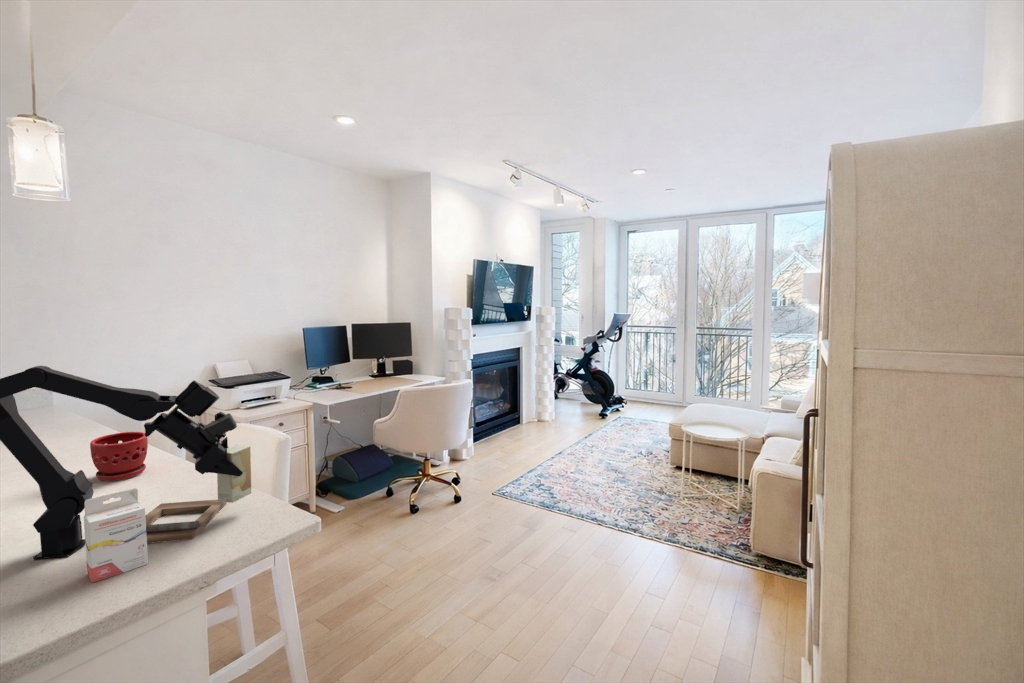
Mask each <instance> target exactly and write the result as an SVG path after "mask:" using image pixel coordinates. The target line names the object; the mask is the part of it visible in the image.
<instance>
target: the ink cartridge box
mask: <svg viewBox="0 0 1024 683" xmlns="http://www.w3.org/2000/svg"><path fill="white" fill-rule="evenodd" d="M138 492H139V491H138V488H131V489H130V488H129V489H127V490H122V491H117V492H114V493H113V492H112V493H108V494H105V495H100V496H95V497H92V498H91V499H87V500H85V502H84V506H85V508H84V516H83V525H84V539H85V545H84V546H85V558H86V559H85V560H86V562H85V563H86V574H87V575H88V578H89V579H90V581H91V583H96V582H98V581H99V582H100V581H103V580H105V579H108V578H111V577H114V576H116V575H119V574H120V575H121V574H122V573H126V572H128V571H129V572H130V571H131V570H134V569H138V568H140V567H143V566H146V565H148V564H149V561H148V560H149V559H148V556H149V555H148V543H147V536H146V518H145V515H146V508H145V506H144V505H143V504H142V503H141V502H139V497H138V496H139V494H138ZM112 498H113V499H119V498H121V499H120V500H115V501H112V502H111V501H110V502H108V503H104V502H106V501H109V500H111V499H112Z"/></svg>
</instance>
